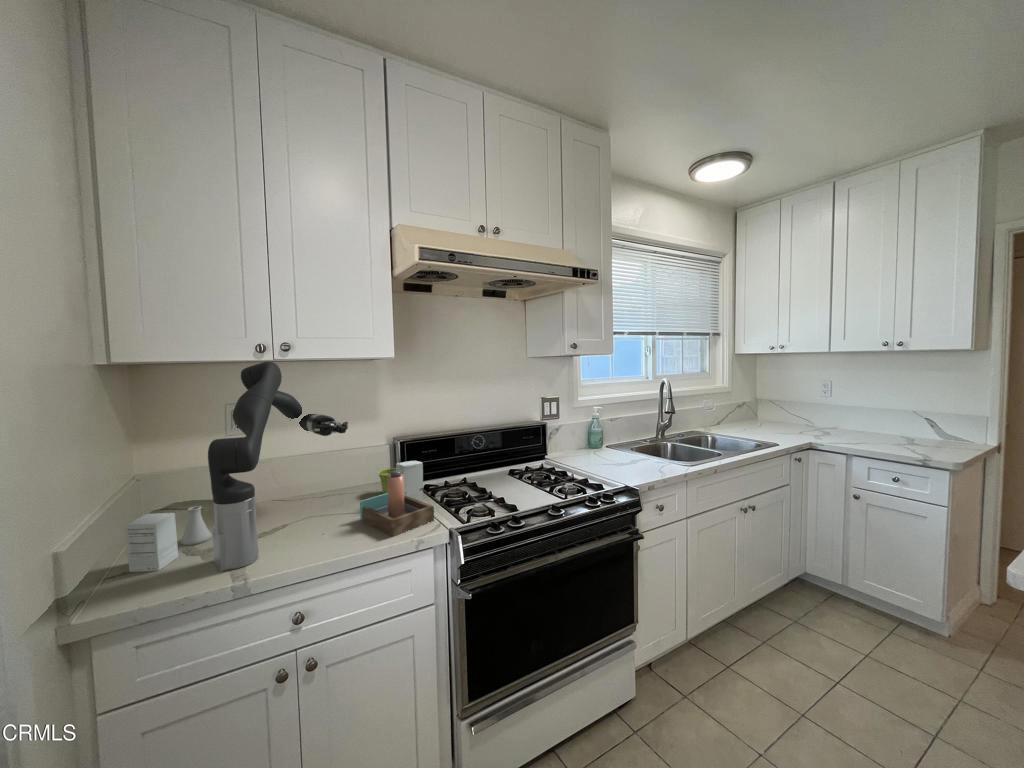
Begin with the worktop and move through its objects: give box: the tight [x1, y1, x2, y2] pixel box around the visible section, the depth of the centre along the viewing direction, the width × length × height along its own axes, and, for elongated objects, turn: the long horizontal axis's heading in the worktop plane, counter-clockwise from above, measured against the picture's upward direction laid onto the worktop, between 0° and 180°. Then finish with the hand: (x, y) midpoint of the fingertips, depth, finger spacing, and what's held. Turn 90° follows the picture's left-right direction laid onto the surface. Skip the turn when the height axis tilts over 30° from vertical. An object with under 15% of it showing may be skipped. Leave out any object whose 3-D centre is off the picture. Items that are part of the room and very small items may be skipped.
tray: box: [359, 493, 420, 522], centre depth 139 cm, size 16×15×6 cm
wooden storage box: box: [362, 495, 435, 537], centre depth 137 cm, size 15×17×5 cm
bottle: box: [388, 470, 405, 518], centre depth 138 cm, size 5×5×15 cm
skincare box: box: [395, 460, 424, 502], centre depth 155 cm, size 8×6×15 cm
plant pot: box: [377, 467, 396, 494], centre depth 165 cm, size 9×9×9 cm
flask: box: [179, 505, 213, 546], centre depth 124 cm, size 7×7×10 cm
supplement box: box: [124, 512, 179, 573], centre depth 110 cm, size 7×7×13 cm
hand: (343, 430), depth 148 cm, fingers closed
